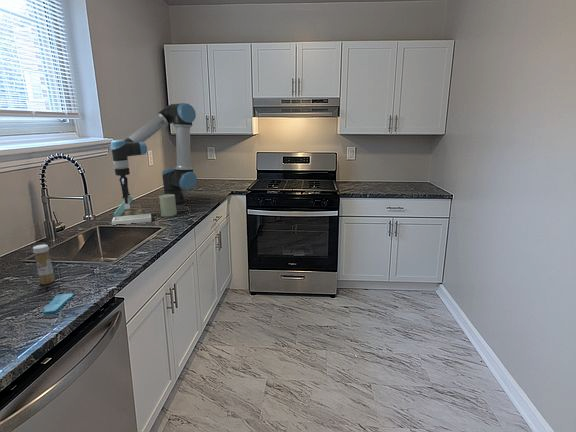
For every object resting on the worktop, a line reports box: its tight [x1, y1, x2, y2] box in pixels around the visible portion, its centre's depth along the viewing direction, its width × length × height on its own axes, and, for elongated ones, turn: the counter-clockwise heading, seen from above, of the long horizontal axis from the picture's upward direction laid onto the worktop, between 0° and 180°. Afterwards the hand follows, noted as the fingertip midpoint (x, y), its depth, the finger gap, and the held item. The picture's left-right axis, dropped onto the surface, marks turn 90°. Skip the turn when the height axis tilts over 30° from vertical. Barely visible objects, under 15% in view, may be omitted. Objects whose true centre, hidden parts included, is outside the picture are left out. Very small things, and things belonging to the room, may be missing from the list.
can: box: [158, 194, 178, 217], centre depth 220 cm, size 9×9×12 cm
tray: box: [111, 213, 152, 226], centre depth 208 cm, size 20×10×2 cm, turn 110°
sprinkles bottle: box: [32, 244, 56, 285], centre depth 130 cm, size 5×5×13 cm
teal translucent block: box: [124, 203, 143, 216], centre depth 216 cm, size 9×4×8 cm, turn 110°
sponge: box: [42, 292, 75, 315], centre depth 115 cm, size 2×12×6 cm
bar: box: [113, 195, 134, 217], centre depth 214 cm, size 13×5×3 cm
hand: (127, 207), depth 215 cm, fingers closed on bar, 5 cm apart
